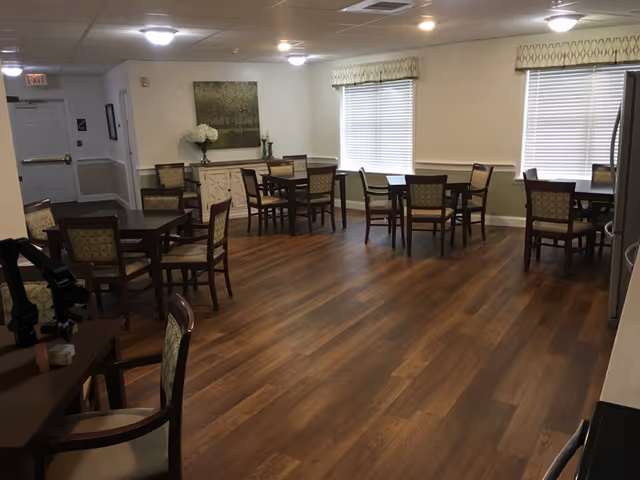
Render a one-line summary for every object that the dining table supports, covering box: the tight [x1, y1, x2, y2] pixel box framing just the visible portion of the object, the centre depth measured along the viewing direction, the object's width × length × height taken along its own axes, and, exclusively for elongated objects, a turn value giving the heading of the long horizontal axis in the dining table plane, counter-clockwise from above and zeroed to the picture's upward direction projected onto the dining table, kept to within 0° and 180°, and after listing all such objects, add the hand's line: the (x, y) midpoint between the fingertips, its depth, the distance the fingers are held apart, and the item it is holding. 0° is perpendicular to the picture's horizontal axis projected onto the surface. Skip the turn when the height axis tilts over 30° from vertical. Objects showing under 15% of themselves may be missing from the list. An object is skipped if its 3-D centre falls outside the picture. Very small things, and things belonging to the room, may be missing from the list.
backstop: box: [34, 350, 73, 366], centre depth 174 cm, size 12×2×4 cm, turn 81°
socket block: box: [48, 343, 76, 358], centre depth 178 cm, size 6×6×4 cm
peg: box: [34, 342, 51, 373], centre depth 168 cm, size 3×3×9 cm
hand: (68, 342), depth 181 cm, fingers closed
